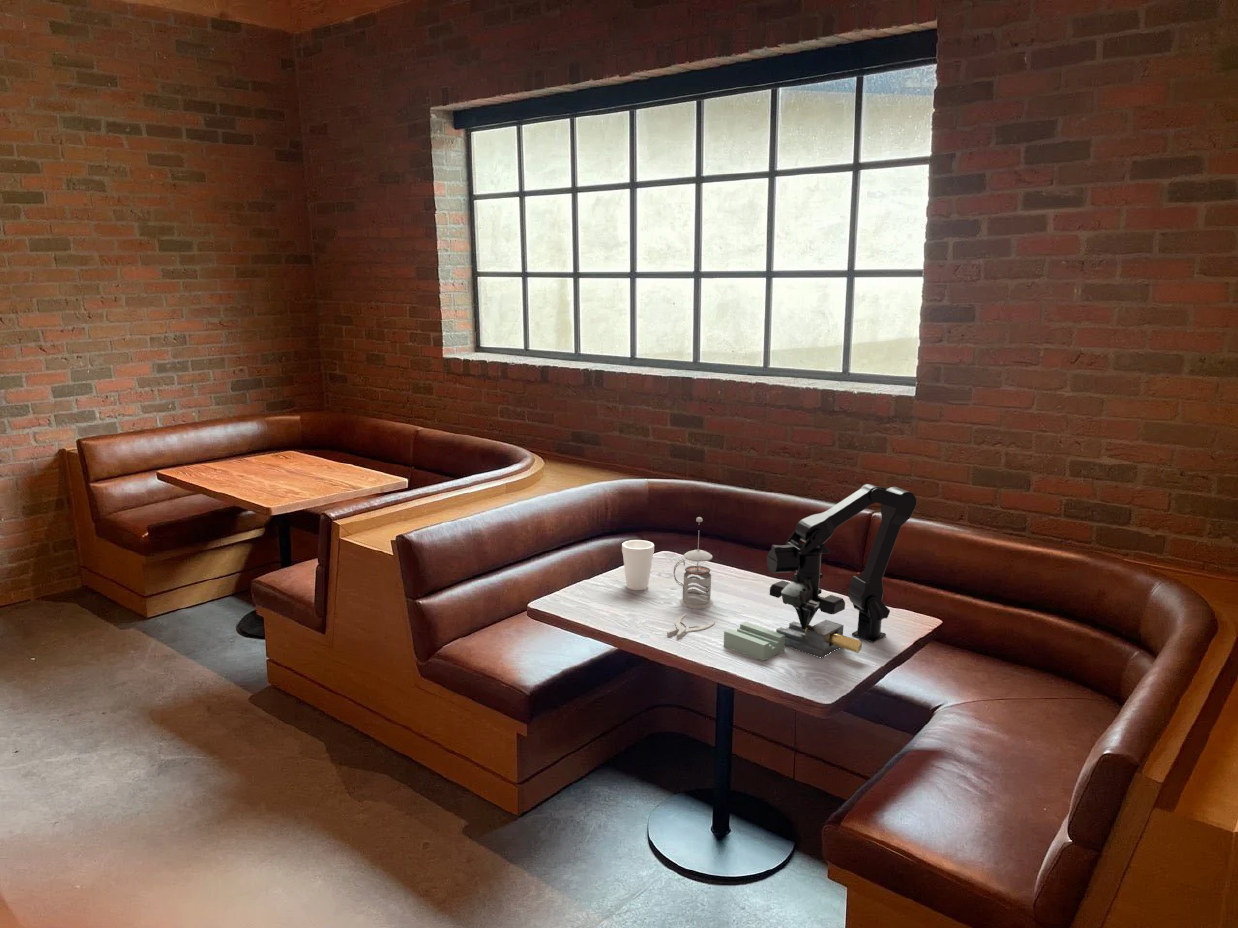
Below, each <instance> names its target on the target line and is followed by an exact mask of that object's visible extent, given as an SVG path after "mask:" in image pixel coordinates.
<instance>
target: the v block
mask: <svg viewBox="0 0 1238 928" xmlns="http://www.w3.org/2000/svg"><path fill="white" fill-rule="evenodd" d="M739 625H740V626H739V628H737V629H736V630H735V629H731V628H728V629H726V630H724V631H723V647H725V648H727V649H730V650H732V651H735V652H738V653H741V654H744V655H746V656H749V657H752V658H754V659H757V660H760V661H763V662H764V661H766V660H768V659H770V658H773V657H774V656H776V655H778V654H780V653H782V652H785V646H784V645H785V635H783V634H780V633H777V632H776V631H773V630H770V629H768V628H765V627H762V626H759V625H756V624H753V623H749V622H747V621H744V622H742V623H740V624H739Z"/></svg>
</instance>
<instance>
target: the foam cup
mask: <svg viewBox="0 0 1238 928" xmlns="http://www.w3.org/2000/svg"><path fill="white" fill-rule="evenodd" d="M621 552H622V556H623V557H622V558H623V566H624V575H625V582H626V588H628V589H629V590H632V591H633V590H634V591H643V590H647V589H648V588H649V582H650V576H651V569H652V565H653V564H652V563H653V558H654V553H655V544H654V542H651V541H648V540H644V539H643V540H642V539H631V540H626V541H624V542H623V543H621Z"/></svg>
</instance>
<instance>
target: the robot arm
mask: <svg viewBox="0 0 1238 928" xmlns="http://www.w3.org/2000/svg"><path fill="white" fill-rule="evenodd" d="M875 503H876V504H880V515H881V522H880V524H879V526H878V529H877V533H876V536H875V538H874V541H873V543H872V546H871V549H870V552H869V555H868V558H867V560H866V563H865V566H864V569H863V571H862V573H860V574H859V575H858V576H855V575H853V576H852V577H851V580H850V584H849V585H848V586H849V587H848V588H847V591H848V593H847V594H848V595H847V597H848V599H849V601H850V602H851V603H852V606H853V609H855V610H857V611H858V620H857V630H855V631H853V632H852V633H851V636H853V635H854V636H853V637H856V638H859V639H862V640H866V641H869V642H871V643H876V642H877V641H879V640H880V639H883V638H885V637H886V636H887V633H885V632H882V631H881V629H882V622H883V621H882V620H884V619H888V617H889V614H890V612H891V610H890V609H889V608H888V607H887V606H886V605H885V604H884V602H883V596H884V586H883V585H884V584H883V578H884V575H885V573H886V569H887V566H888V564H889V560H890V557H891V555H892V553H893V550H894V547H895V545H896V542H897V539H898V536H899V532H900V530H901V528H902V526H903V525H904V524H905V523H906V522H908V520H910V519H911V517H912V515H913V514H914V511H915V510H916V508H917V504H918V500H917V498H916V496H915V494H914V493H912V492H910V491H909V490H906V489H903V488H900V487H897V486H891V487H889V488H887V487H882V486H877V485H873V484H872V483H866V484H864V485H862V486H861V487H860V488H859V489H858V490H856V491H855V492H853V493H852V494H850V495H848V496H847V497H845V498H844V499H842V500H841V501H839V502H838V503H836V504H835V505H833V506H832V507H830V508H828V509H827V510H826V511H823V512H820V513H815V514H811V515H809V516H807V517H804V518H802V519H800V520H799V521H798V522H797V524H796V527H795V529H794V531H793V532H792V533H791V534H790V536H789V538H787V540H786V542H785V544H784V545H783V544H782V545H781V544H778V545H777V544H772V545H771V549H770V550H768V554H767V556H766V566H767V568H768V571H769V572H770V573H771V574H784V573H785V574H786V573H793V576H792V580H791V582H789V581H785V580H780V581H778V582H776V583H773V584H771V586H770V587H769V592H768V593H769V596H771V597H774V598H777V599H780V598H782V603H783V604H785V605H790V606H792V607H793V608H794V609H795V611H796V614H797V617H798V621H799V623H800V624H801V627H802V629H803V630H805V629H806V627H807V626H808V625H811V624H810V623H811V622H812V620H813V618H814V617H815V615H816V613H817V611H818V610H819V611H820V612H822V613H825V614H828V615H835V614H838V613H839V612H842V611H844V610H845V608H846V601H845V600H844V598H842V597H839V596H836V595H833V594H830V595H828V596H825V597H823V596H821V595H820V594H822V590H823V589H821V588H820V579H822V578H824V577H823V576H824V575H823V574H824V573H821V565H822V554H830V553H831V550H830V549H828V548H827V546H826V545H825V543H826V542H827V541H828V540H829V539H830V538H831V537H832V536H833V534H834V532H835V531H836V529H837V528H839V527H840V526H841V525H843V524H844V523H846V522H847V521H849V520H851V519H852V518H853V517H855V516H857V515H858V514H860V513H861V512H863V511H864V510H866V509H867V508H869V507H871V506H872V505H873V504H875ZM800 541H802V542H804V543H802V542H800ZM795 571H796V573H794V572H795Z"/></svg>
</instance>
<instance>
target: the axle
mask: <svg viewBox="0 0 1238 928" xmlns="http://www.w3.org/2000/svg"><path fill="white" fill-rule="evenodd" d="M812 626H813V625H811V624H809V625H808V626H807V627H806V629H808V628H810V627H812ZM806 629H805V635H806ZM829 644H831V645H834V646H837V647H840V649H843V650H847V651H850V652H853V653H857V654H858V653H860V651H861V650H862V648H863V647H862V646H863V643H862V640H858V639H857V638H852V637H849V636H846V635H844V634H843V635H840V634H837V633H834V632H833V633H832V634H830V639H829Z"/></svg>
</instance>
